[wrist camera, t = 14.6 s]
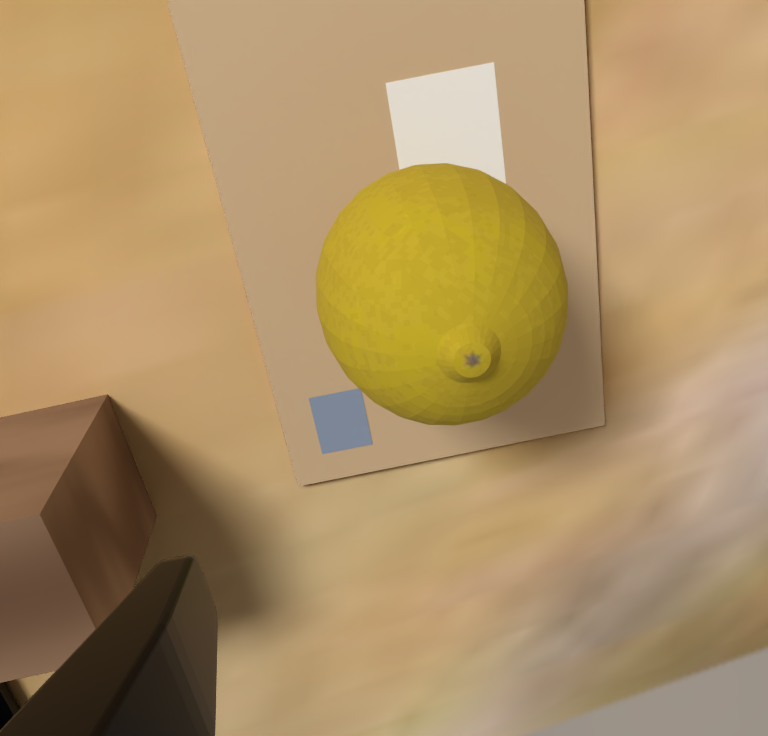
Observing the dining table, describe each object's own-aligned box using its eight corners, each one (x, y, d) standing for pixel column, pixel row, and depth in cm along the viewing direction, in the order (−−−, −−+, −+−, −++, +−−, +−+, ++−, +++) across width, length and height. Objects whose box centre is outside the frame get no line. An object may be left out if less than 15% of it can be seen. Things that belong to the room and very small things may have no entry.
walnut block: (156, 514, 23) (110, 658, 18) (20, 544, 23) (-67, 697, 18) (108, 394, 22) (39, 513, 16) (-40, 426, 22) (-158, 556, 16)
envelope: (601, 420, 23) (605, 425, 23) (298, 481, 23) (297, 486, 23) (576, -77, 18) (580, -79, 17) (169, 1, 17) (166, 0, 17)
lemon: (546, 189, 20) (682, 277, 13) (460, 362, 22) (535, 524, 15) (360, 106, 19) (392, 152, 11) (285, 298, 20) (272, 443, 13)
